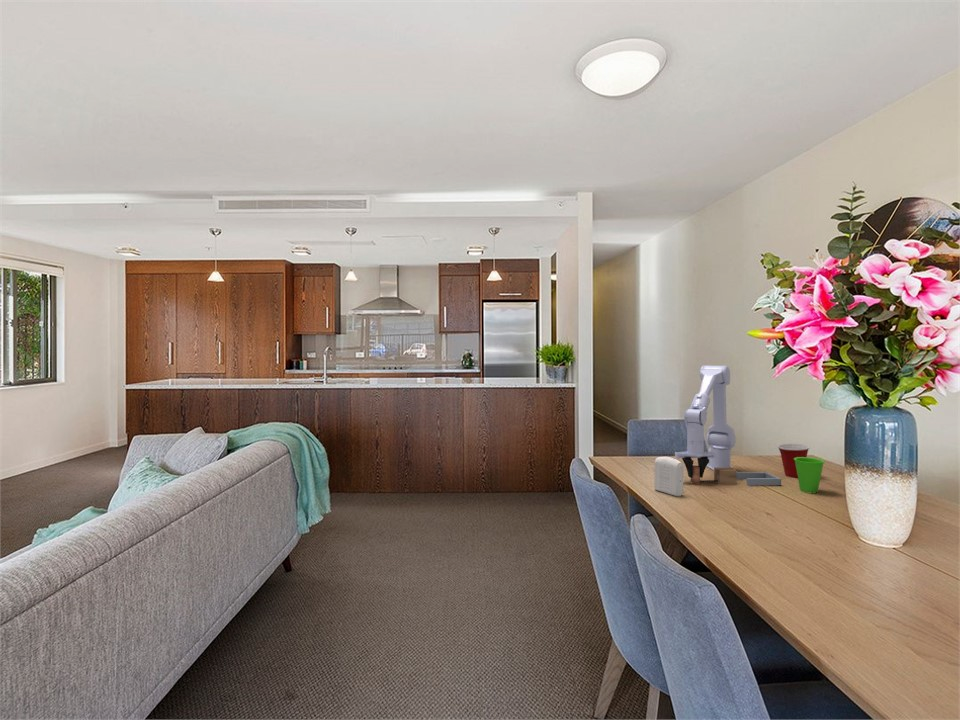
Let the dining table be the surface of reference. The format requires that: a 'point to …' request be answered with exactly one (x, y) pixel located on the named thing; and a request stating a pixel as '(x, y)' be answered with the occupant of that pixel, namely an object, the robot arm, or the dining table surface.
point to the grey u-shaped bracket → (759, 478)
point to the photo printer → (669, 476)
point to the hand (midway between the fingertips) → (695, 477)
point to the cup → (809, 473)
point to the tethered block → (716, 475)
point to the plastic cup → (792, 457)
